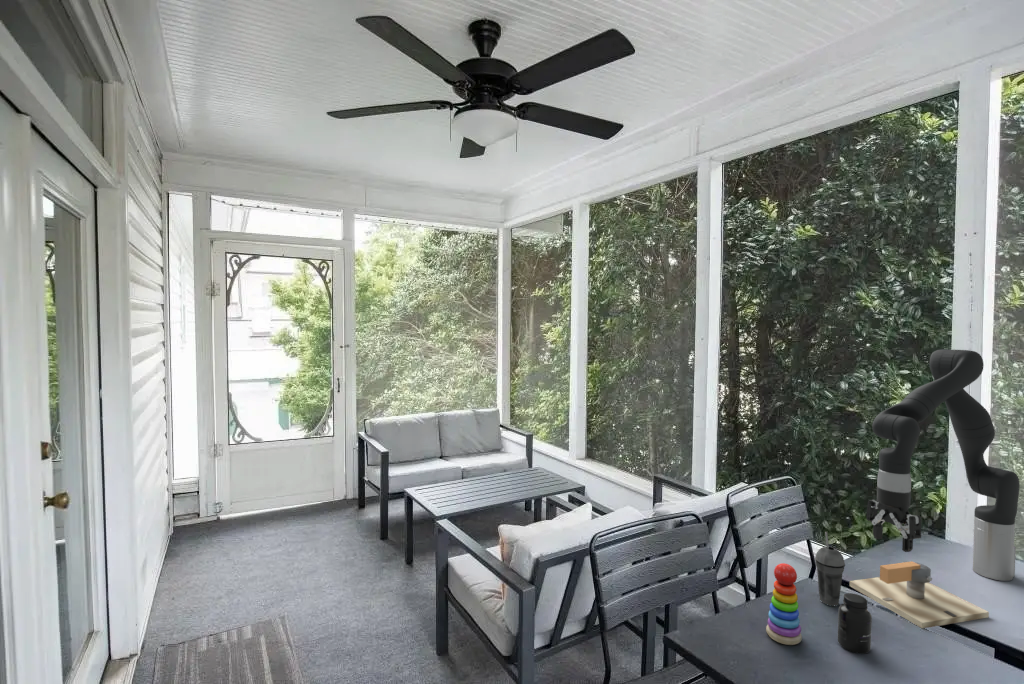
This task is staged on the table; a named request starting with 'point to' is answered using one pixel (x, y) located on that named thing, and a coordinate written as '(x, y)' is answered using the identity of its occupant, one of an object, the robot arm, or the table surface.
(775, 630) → the stacking toy
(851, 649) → the supplement bottle
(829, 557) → the beverage cup
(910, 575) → the orange lever handle
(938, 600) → the post board
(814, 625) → the table surface
